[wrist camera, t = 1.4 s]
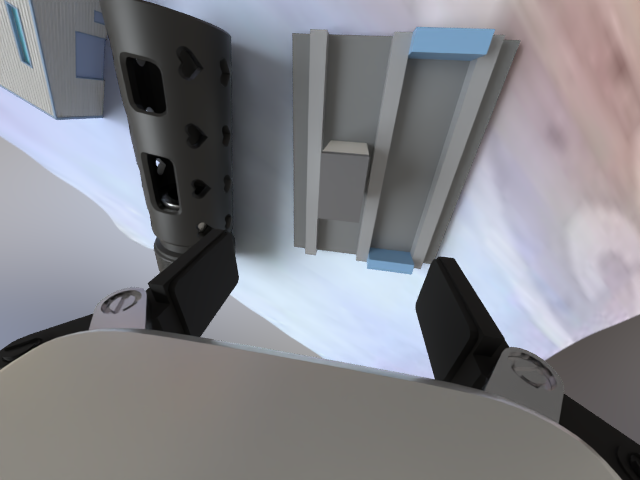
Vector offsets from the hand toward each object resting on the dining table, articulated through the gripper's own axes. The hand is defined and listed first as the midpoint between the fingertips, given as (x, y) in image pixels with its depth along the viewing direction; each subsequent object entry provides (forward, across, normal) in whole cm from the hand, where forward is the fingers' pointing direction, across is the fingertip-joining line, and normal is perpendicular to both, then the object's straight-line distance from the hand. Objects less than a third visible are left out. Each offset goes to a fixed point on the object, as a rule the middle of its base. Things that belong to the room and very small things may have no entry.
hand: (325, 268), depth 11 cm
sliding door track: (+20, -4, 0) cm, 20 cm away
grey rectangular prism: (+19, 0, 0) cm, 19 cm away
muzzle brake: (+20, +18, +2) cm, 27 cm away
